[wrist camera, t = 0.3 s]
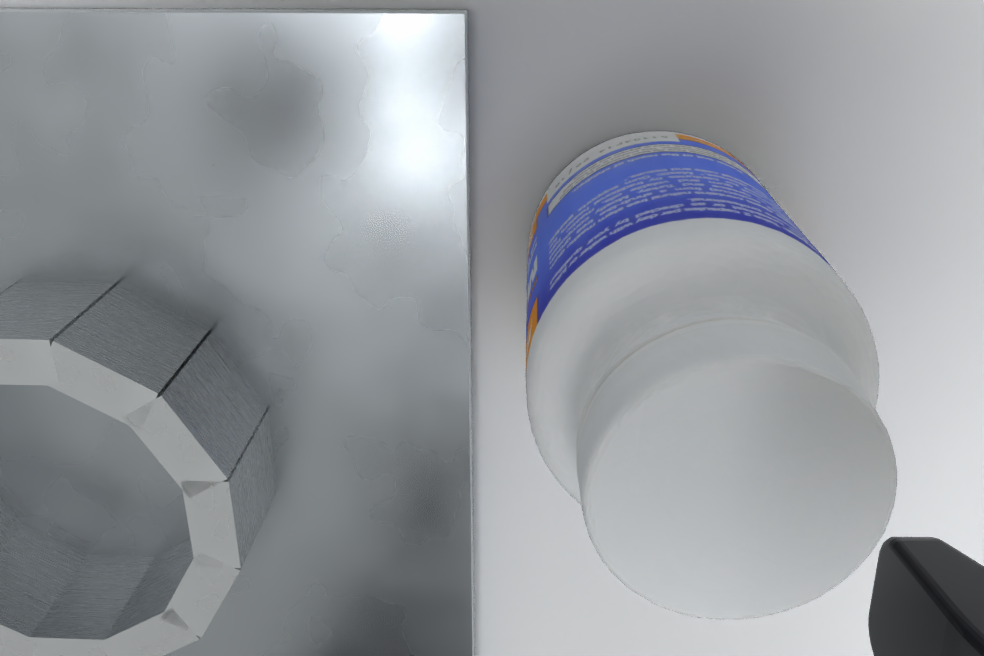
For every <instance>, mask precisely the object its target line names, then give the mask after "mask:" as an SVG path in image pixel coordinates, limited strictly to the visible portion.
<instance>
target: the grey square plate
mask: <svg viewBox="0 0 984 656" xmlns="http://www.w3.org/2000/svg"><path fill="white" fill-rule="evenodd" d="M0 656H475V635H474V546H473V457H472V367H471V278H470V189H469V100H468V11H467V10H361V9H86V8H0Z"/></svg>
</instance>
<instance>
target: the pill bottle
mask: <svg viewBox="0 0 984 656" xmlns="http://www.w3.org/2000/svg"><path fill="white" fill-rule="evenodd" d="M878 387H879V364H878V358H877V352H876V347H875V343H874V339H873V335H872V332H871V329H870V326H869V323H868V321H867V319H866V317H865V314H864V312H863V310H862V308H861V307H860V305H859V303H858V302H857V300H856V298H855V297H854V295H853V294H852V292H851V291H850V290H849V288H848V287H847V286H846V284H845V283H844V282H843V281H842V279H841V278H840V277H839V276H838V274H837V273H836V272H835V271H834V269H833V268H832V267H831V266H830V264H829V263H828V262H827V261H826V260H825V259H824V257H823V256H822V255H821V254H820V253H819V252H818V250H817V249H816V248H815V247H814V246H813V245H812V244H811V243H810V241H809V240H808V239H807V238H806V237H805V236H804V234H803V233H802V232H801V231H800V230H799V229H798V227H797V226H796V225H795V224H794V223H793V222H792V220H791V219H790V218H789V217H788V216H787V215H786V214H785V212H784V211H783V210H782V209H781V208H780V207H779V206H778V204H777V203H776V202H775V201H774V200H773V199H772V197H771V196H770V195H769V194H768V192H767V191H766V189H765V188H764V187H763V186H762V185H761V183H760V182H759V181H758V179H757V178H756V177H755V176H754V174H753V173H752V172H751V171H750V170H749V169H748V168H747V167H746V166H745V165H744V164H743V163H741V162H740V161H739V160H738V159H736V158H735V157H734V156H733V155H731V154H730V153H728V152H727V151H726V150H724V149H723V148H721V147H719V146H717V145H715V144H713V143H711V142H709V141H707V140H704V139H702V138H699V137H695V136H692V135H688V134H683V133H678V132H669V131H648V132H639V133H633V134H627V135H623V136H620V137H616V138H613V139H610V140H608V141H606V142H603V143H601V144H599V145H597V146H595V147H593V148H591V149H589V150H588V151H586V152H585V153H583V154H582V155H580V156H579V157H577V158H576V159H575V160H573V161H572V162H571V163H570V164H569V165H568V166H567V167H566V168H564V170H563V171H562V172H561V173H560V174H559V175H558V176H557V177H556V178H555V179H554V181H553V182H552V184H551V185H550V186H549V188H548V189H547V191H546V192H545V194H544V196H543V197H542V199H541V202H540V204H539V206H538V208H537V211H536V213H535V216H534V219H533V222H532V226H531V231H530V235H529V243H528V251H527V323H526V392H527V408H528V415H529V420H530V424H531V430H532V433H533V436H534V438H535V442H536V444H537V446H538V448H539V451H540V453H541V455H542V457H543V459H544V461H545V463H546V464H547V466H548V468H549V469H550V471H551V472H552V474H553V475H554V476H555V478H556V479H557V481H558V482H559V483H560V484H561V485H562V486H563V487H564V489H565V490H566V491H567V492H568V493H569V494H570V495H571V496H572V497H573V498H574V499H576V500H577V501H578V502H579V503H580V504H581V505H582V510H583V515H584V519H585V523H586V527H587V530H588V533H589V537H590V539H591V541H592V543H593V545H594V547H595V549H596V551H597V553H598V554H599V556H600V557H601V558H602V561H603V562H604V563H605V564H606V566H607V567H608V568H609V570H610V571H611V572H612V573H613V574H614V575H615V576H616V577H617V578H618V579H619V580H620V581H621V582H622V583H623V584H624V585H626V586H627V587H628V588H630V589H631V590H632V591H634V592H635V593H637V594H639V595H640V596H642V597H644V598H645V599H647V600H649V601H650V602H652V603H654V604H656V605H659V606H661V607H664V608H666V609H669V610H672V611H675V612H678V613H681V614H685V615H689V616H695V617H698V618H708V619H734V620H739V619H748V618H757V617H762V616H767V615H772V614H775V613H779V612H783V611H786V610H789V609H792V608H795V607H797V606H800V605H802V604H805V603H807V602H809V601H812V600H814V599H816V598H818V597H820V596H821V595H823V594H825V593H826V592H828V591H829V590H831V589H832V588H834V587H835V586H837V585H838V584H839V583H841V582H842V581H843V580H844V579H846V578H847V577H848V576H849V575H850V574H851V573H852V572H853V571H855V570H856V569H857V568H858V567H859V566H860V564H861V563H862V562H863V561H864V560H865V559H866V558H867V557H868V556H869V555H870V553H871V552H872V550H873V549H874V547H875V546H876V544H877V543H878V541H879V540H880V538H881V537H882V535H883V534H884V532H885V529H886V526H887V524H888V521H889V519H890V516H891V513H892V509H893V506H894V501H895V496H896V487H897V468H896V460H895V455H894V451H893V447H892V444H891V440H890V437H889V435H888V432H887V429H886V428H885V426H884V424H883V422H882V421H881V419H880V417H879V415H878V413H877V412H876V410H875V408H876V402H877V397H878Z"/></svg>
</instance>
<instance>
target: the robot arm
mask: <svg viewBox="0 0 984 656" xmlns="http://www.w3.org/2000/svg"><path fill="white" fill-rule="evenodd" d="M868 626H869V636H870V642H871V646H872V650H873V654H874V656H984V566H982V565H981V564H979V563H977V562H976V561H974V560H973V559H971V558H969V557H968V556H966V555H965V554H963V553H961V552H960V551H958V550H957V549H955V548H953V547H952V546H950V545H949V544H947V543H945V542H944V541H942V540H940V539H937V538H933V537H891V538H889V539H888V540H886V541H885V542H884V543H883V545H882V547H881V549H880V553H879V557H878V563H877V569H876V575H875V581H874V587H873V593H872V599H871V605H870V611H869V623H868Z"/></svg>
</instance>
